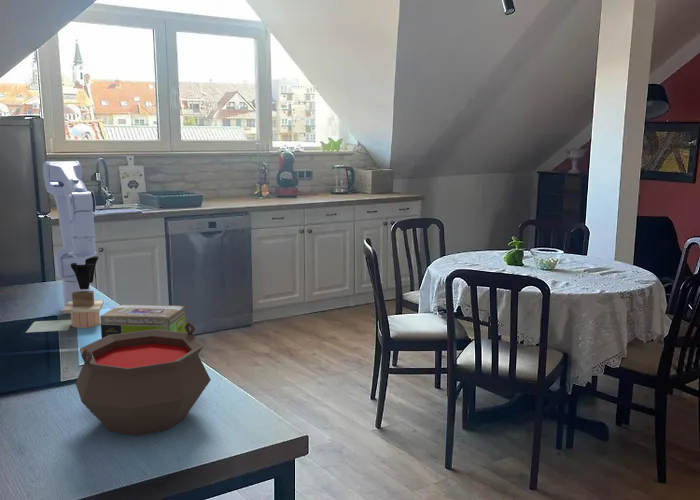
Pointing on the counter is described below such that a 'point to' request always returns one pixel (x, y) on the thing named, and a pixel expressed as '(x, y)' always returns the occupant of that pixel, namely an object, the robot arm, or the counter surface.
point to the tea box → (143, 319)
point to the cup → (85, 319)
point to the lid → (83, 303)
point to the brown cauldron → (142, 379)
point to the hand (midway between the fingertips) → (86, 285)
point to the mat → (49, 326)
